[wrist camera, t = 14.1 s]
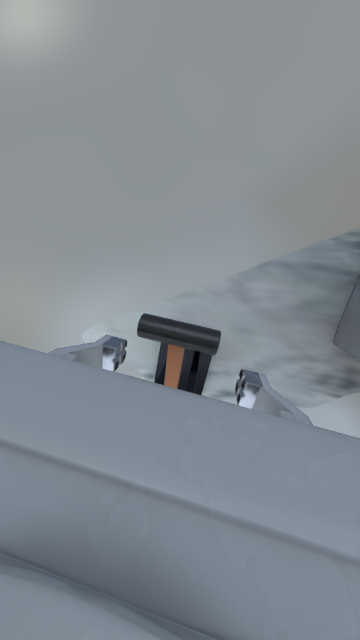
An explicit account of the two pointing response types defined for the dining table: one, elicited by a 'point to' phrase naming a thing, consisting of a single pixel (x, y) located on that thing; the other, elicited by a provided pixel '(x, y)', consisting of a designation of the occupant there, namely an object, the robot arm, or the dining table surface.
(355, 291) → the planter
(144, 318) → the lever
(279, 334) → the dining table surface
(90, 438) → the robot arm
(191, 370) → the bracket
